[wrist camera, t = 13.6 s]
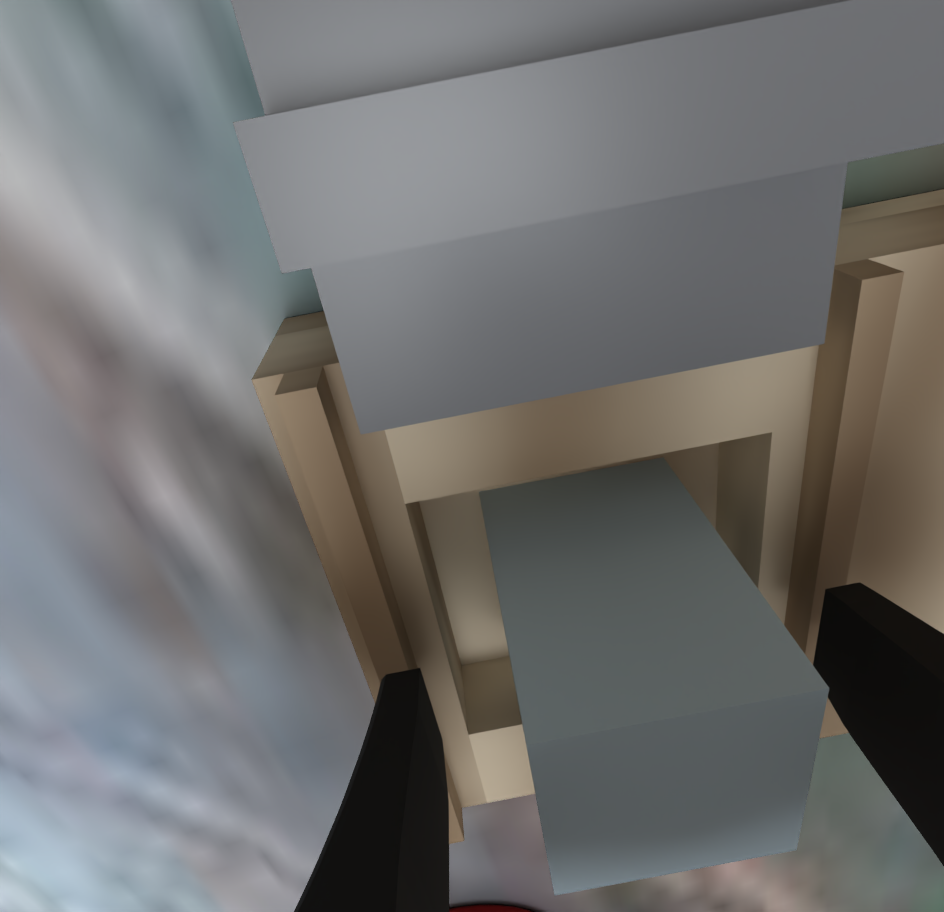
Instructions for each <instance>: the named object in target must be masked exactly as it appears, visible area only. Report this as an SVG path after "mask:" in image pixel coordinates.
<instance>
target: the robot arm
mask: <svg viewBox="0 0 944 912" xmlns="http://www.w3.org/2000/svg"><path fill="white" fill-rule="evenodd" d="M813 666H814V668H815V669H816V670H817V672H818V673H819V674H820V676H821V677H822V679H823V680H824V681H825V683H826V684H827V686H828V687H829V693H828V699H829V700H830V702H831V704H832V706H833V707H834V709H835V711H836V713H837V714H838V716H839V718H840V720H841V721H842V723H843V725H844V726H845V728H846V729H847V731H848V732H849V733H850V735H851V736H852V738H853V739H854V741H855V742H856V743H857V745H858V746H859V748H860V749H861V751H862V752H863V753H864V755H865V756H866V758H867V759H868V760H869V762H870V763H871V765H872V766H873V768H874V769H875V770H876V772H877V773H878V775H879V776H880V777H881V779H882V780H883V781H884V783H885V784H886V786H887V787H888V788H889V790H890V791H891V793H892V794H893V795H894V797H895V798H896V800H897V801H898V802H899V804H900V805H901V807H902V808H903V809H904V811H905V812H906V814H907V815H908V816H909V818H910V819H911V821H912V822H913V823H914V825H915V826H916V827H917V829H918V830H919V832H920V833H921V834H922V836H923V837H924V839H925V840H926V841H927V843H928V844H929V846H930V847H931V848H932V850H933V851H934V853H935V854H936V855H937V857H938V858H939V860H940V861H941V863H942V864H943V866H944V634H943V633H942V632H940V631H938V630H937V629H935V628H933V627H932V626H930V625H929V624H927V623H925V622H924V621H922V620H921V619H919V618H917V617H916V616H914V615H913V614H911V613H909V612H908V611H906V610H905V609H903V608H901V607H900V606H898V605H897V604H895V603H893V602H892V601H890V600H888V599H887V598H885V597H884V596H882V595H880V594H879V593H877V592H876V591H874V590H872V589H871V588H869V587H867V586H866V585H864V584H862V583H860V582H858V583H853V584H848V585H843V586H838V587H833V588H828V589H825V595H824V601H823V607H822V613H821V619H820V625H819V631H818V637H817V643H816V649H815V655H814V661H813ZM294 912H449V799H448V788H447V778H446V768H445V758H444V749H443V740H442V736H441V733H440V730H439V727H438V724H437V720H436V717H435V714H434V711H433V708H432V704H431V701H430V698H429V695H428V692H427V688H426V685H425V682H424V679H423V675H422V672H421V669H420V668H416V669H411V670H406V671H401V672H396V673H391V674H386V675H385V676H384V677H383V679H382V680H381V683H380V687H379V692H378V696H377V699H376V703H375V707H374V710H373V714H372V717H371V720H370V724H369V727H368V730H367V733H366V736H365V739H364V742H363V746H362V749H361V752H360V755H359V757H358V760H357V763H356V766H355V768H354V771H353V774H352V777H351V779H350V782H349V785H348V788H347V790H346V793H345V796H344V799H343V801H342V804H341V806H340V809H339V811H338V814H337V816H336V818H335V821H334V823H333V826H332V828H331V830H330V833H329V835H328V838H327V840H326V842H325V845H324V847H323V849H322V852H321V854H320V857H319V859H318V861H317V864H316V866H315V868H314V870H313V872H312V875H311V877H310V879H309V881H308V883H307V885H306V888H305V890H304V892H303V894H302V896H301V898H300V900H299V902H298V904H297V907H296V909H295V911H294Z"/></svg>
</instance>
